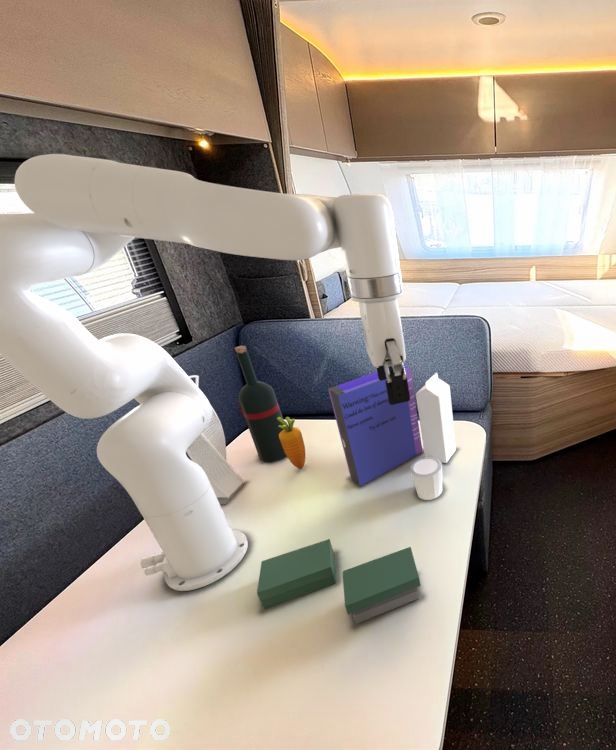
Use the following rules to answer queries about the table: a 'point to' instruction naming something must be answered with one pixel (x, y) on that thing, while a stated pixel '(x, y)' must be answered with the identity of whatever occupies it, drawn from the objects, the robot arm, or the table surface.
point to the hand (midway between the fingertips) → (393, 389)
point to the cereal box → (375, 426)
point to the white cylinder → (427, 477)
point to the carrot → (292, 442)
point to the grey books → (385, 605)
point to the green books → (296, 573)
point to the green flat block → (379, 580)
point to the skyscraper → (215, 459)
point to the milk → (436, 419)
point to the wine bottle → (260, 412)
